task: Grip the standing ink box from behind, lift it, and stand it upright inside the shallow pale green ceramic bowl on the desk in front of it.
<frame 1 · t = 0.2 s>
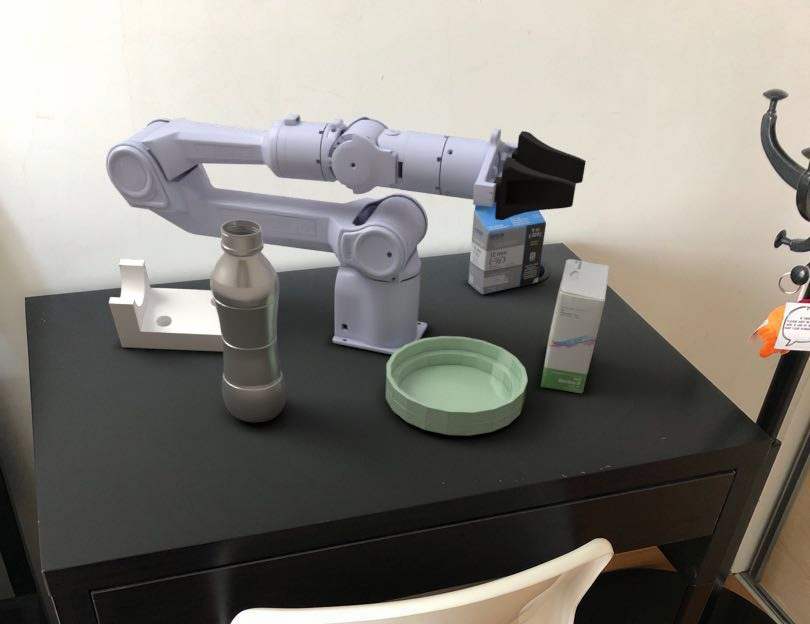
hand: (579, 183, 90), 21 cm above the table, tool horizontal, fingers open, 7 cm apart
bowl: (454, 399, 98), on the table
ink box: (565, 373, 104), on the table
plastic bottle: (255, 414, 95), on the table
bracket: (183, 339, 105), on the table
label tape box: (502, 284, 119), on the table
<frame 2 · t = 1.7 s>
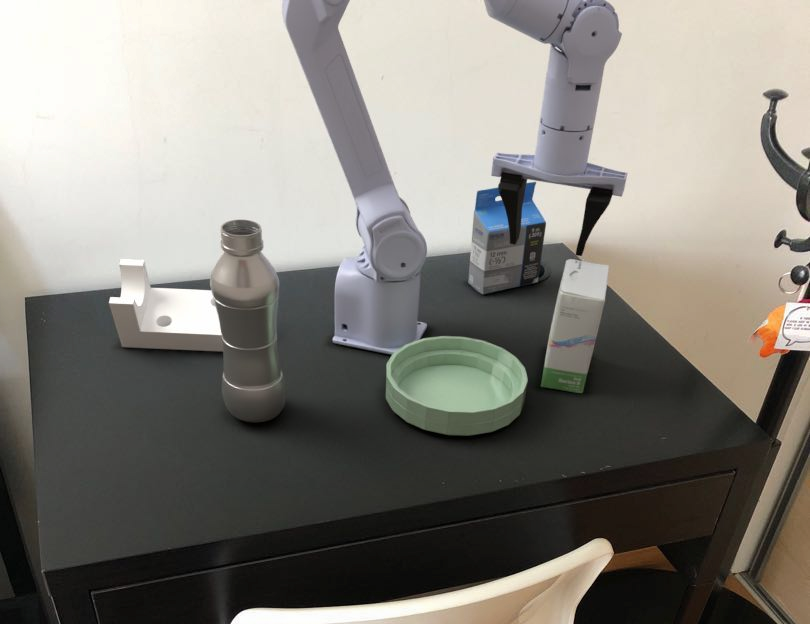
hand: (546, 246, 104), 10 cm above the table, tool pointing down, fingers open, 7 cm apart
nothing on the table moved.
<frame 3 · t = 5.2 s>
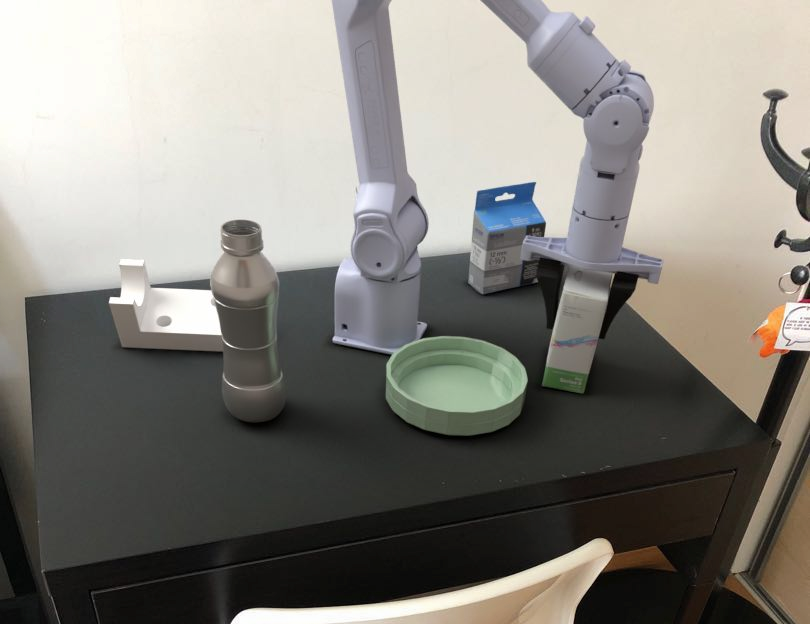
hand: (576, 330, 100), 6 cm above the table, tool pointing down, fingers closed on ink box, 5 cm apart
ink box: (567, 373, 104), on the table, touching gripper
everything else where it was.
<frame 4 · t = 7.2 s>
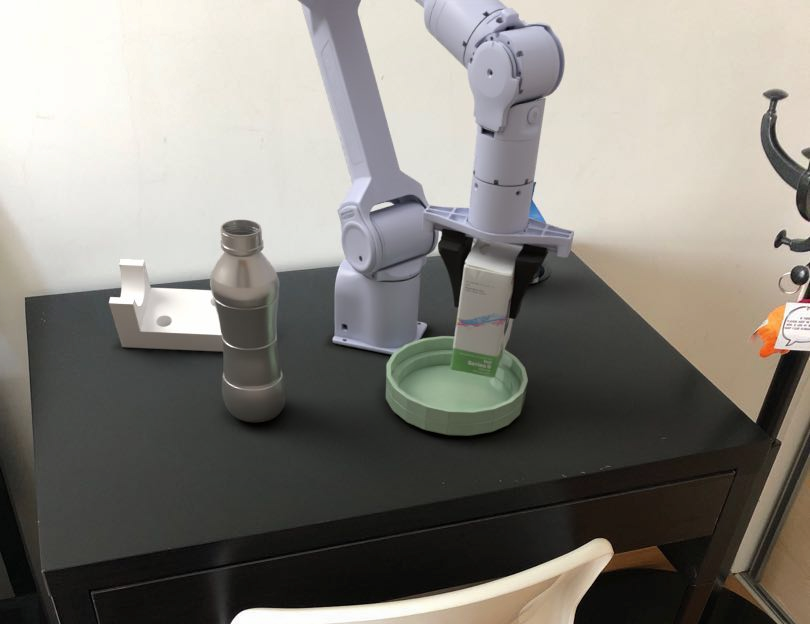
hand: (487, 309, 92), 10 cm above the table, tool pointing down, fingers closed on ink box, 5 cm apart
ink box: (480, 357, 96), point 5 cm above the table, touching gripper
everything else where it was.
when the fingers open (6 cm above the table, at t = 9.1 s): ink box stays where it is, resting on bowl.
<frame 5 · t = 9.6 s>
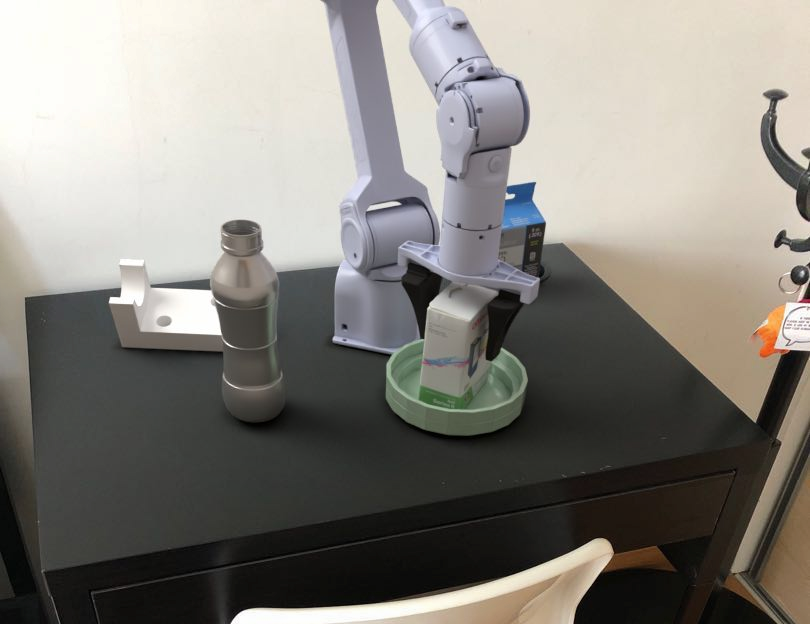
hand: (459, 345, 94), 7 cm above the table, tool pointing down, fingers open, 7 cm apart
ink box: (453, 395, 98), resting on bowl
everything else where it was.
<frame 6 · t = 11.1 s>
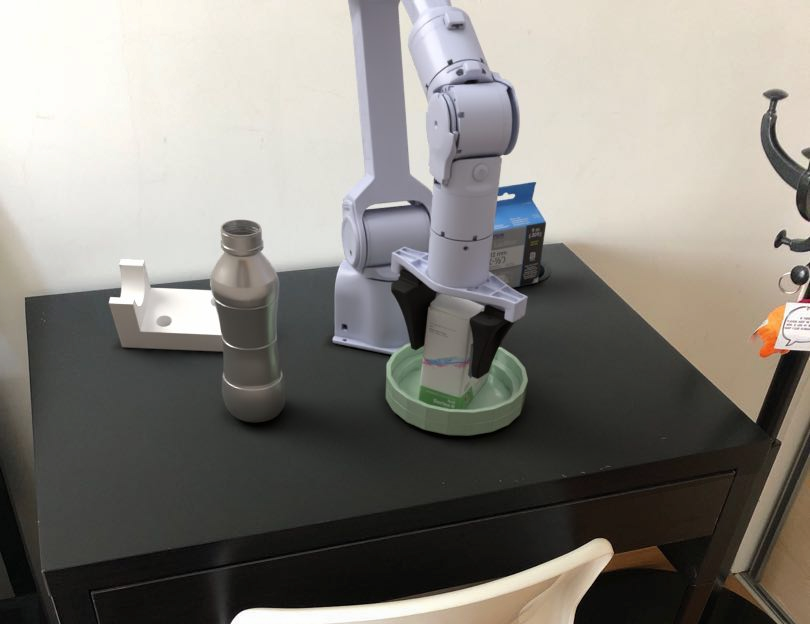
hand: (449, 359, 90), 7 cm above the table, tool pointing down, fingers open, 7 cm apart
ink box: (453, 395, 98), resting on bowl, touching gripper
everything else where it was.
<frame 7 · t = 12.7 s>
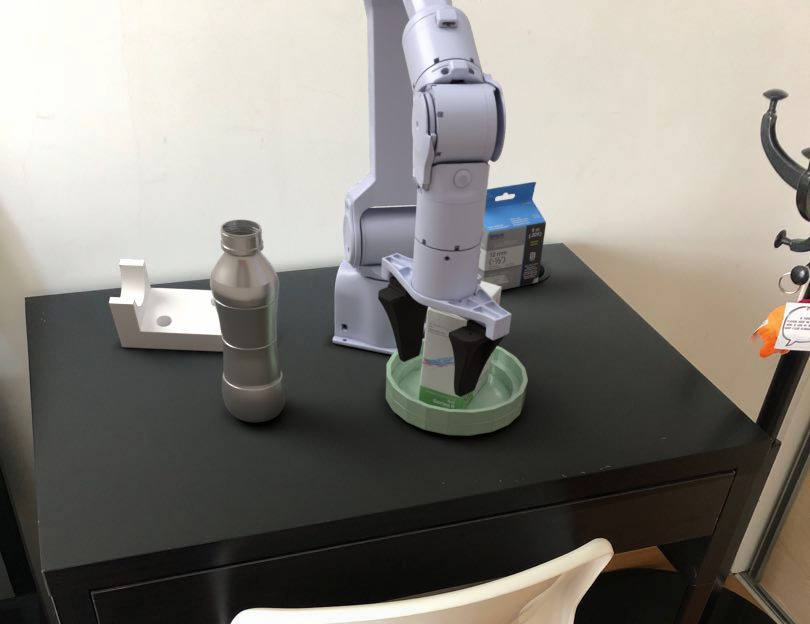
hand: (436, 374, 86), 9 cm above the table, tool pointing down, fingers open, 7 cm apart
ink box: (453, 395, 98), resting on bowl
everything else where it was.
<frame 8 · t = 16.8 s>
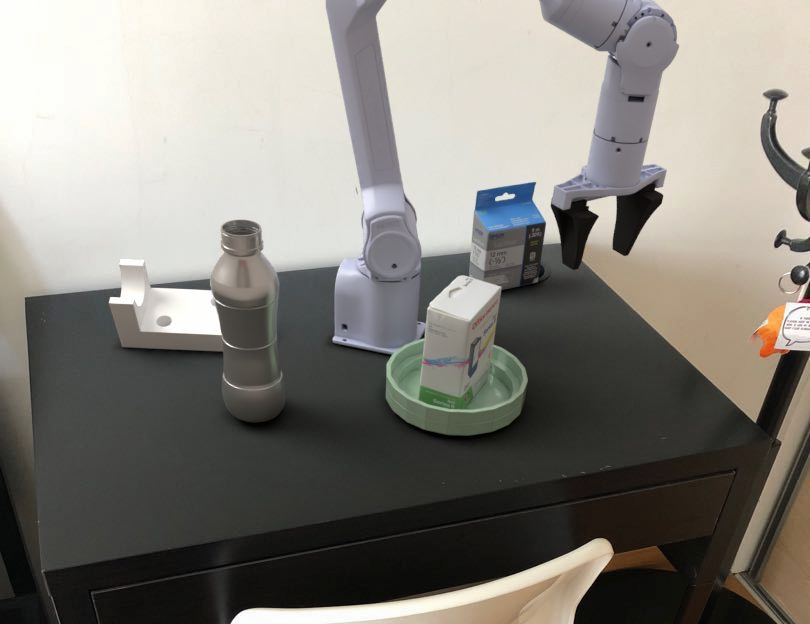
hand: (595, 259, 102), 10 cm above the table, tool pointing down, fingers open, 7 cm apart
nothing on the table moved.
at the end: ink box inside the target area in the bowl (0.1 cm from its centre), point 0.4 cm above the bowl's base; ink box tilted 0°; the gripper is holding nothing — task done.
